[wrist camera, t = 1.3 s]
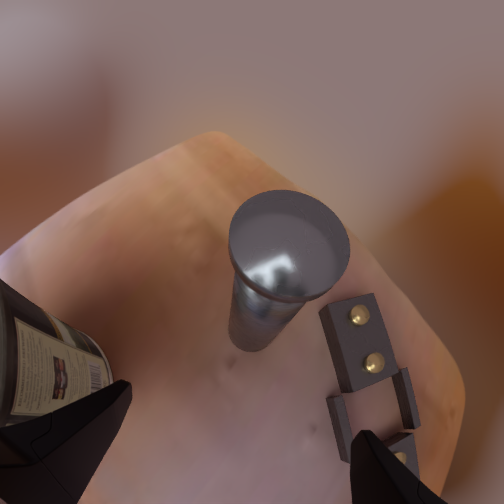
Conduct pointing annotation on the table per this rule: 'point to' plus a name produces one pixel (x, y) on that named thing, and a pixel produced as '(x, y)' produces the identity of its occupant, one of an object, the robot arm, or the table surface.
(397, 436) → the riveted post bracket
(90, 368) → the coffee can
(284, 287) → the link pin
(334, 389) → the table surface
